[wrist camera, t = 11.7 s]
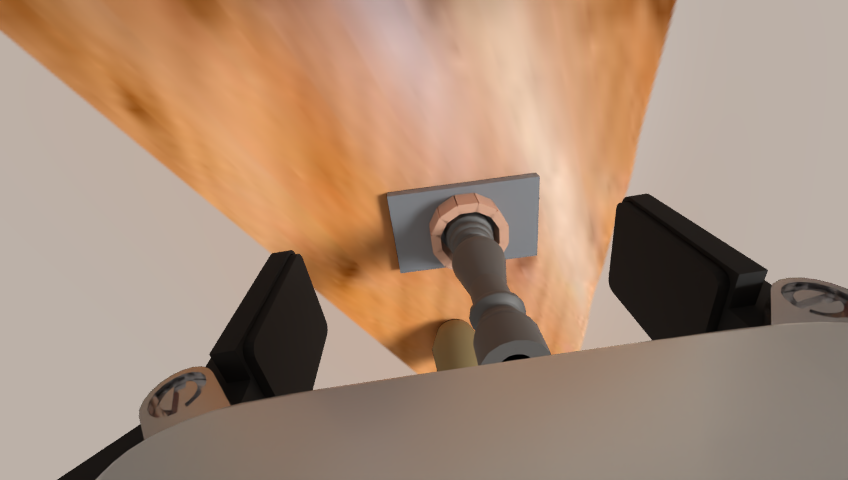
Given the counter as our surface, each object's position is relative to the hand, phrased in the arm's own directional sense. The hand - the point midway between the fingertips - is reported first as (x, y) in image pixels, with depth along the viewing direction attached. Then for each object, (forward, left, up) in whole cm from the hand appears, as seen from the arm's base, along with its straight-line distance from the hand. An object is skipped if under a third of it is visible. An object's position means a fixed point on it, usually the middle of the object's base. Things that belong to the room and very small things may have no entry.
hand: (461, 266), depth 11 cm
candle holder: (-5, +17, -36) cm, 40 cm away
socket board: (-5, +17, -37) cm, 41 cm away
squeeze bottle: (-2, +37, -38) cm, 53 cm away
